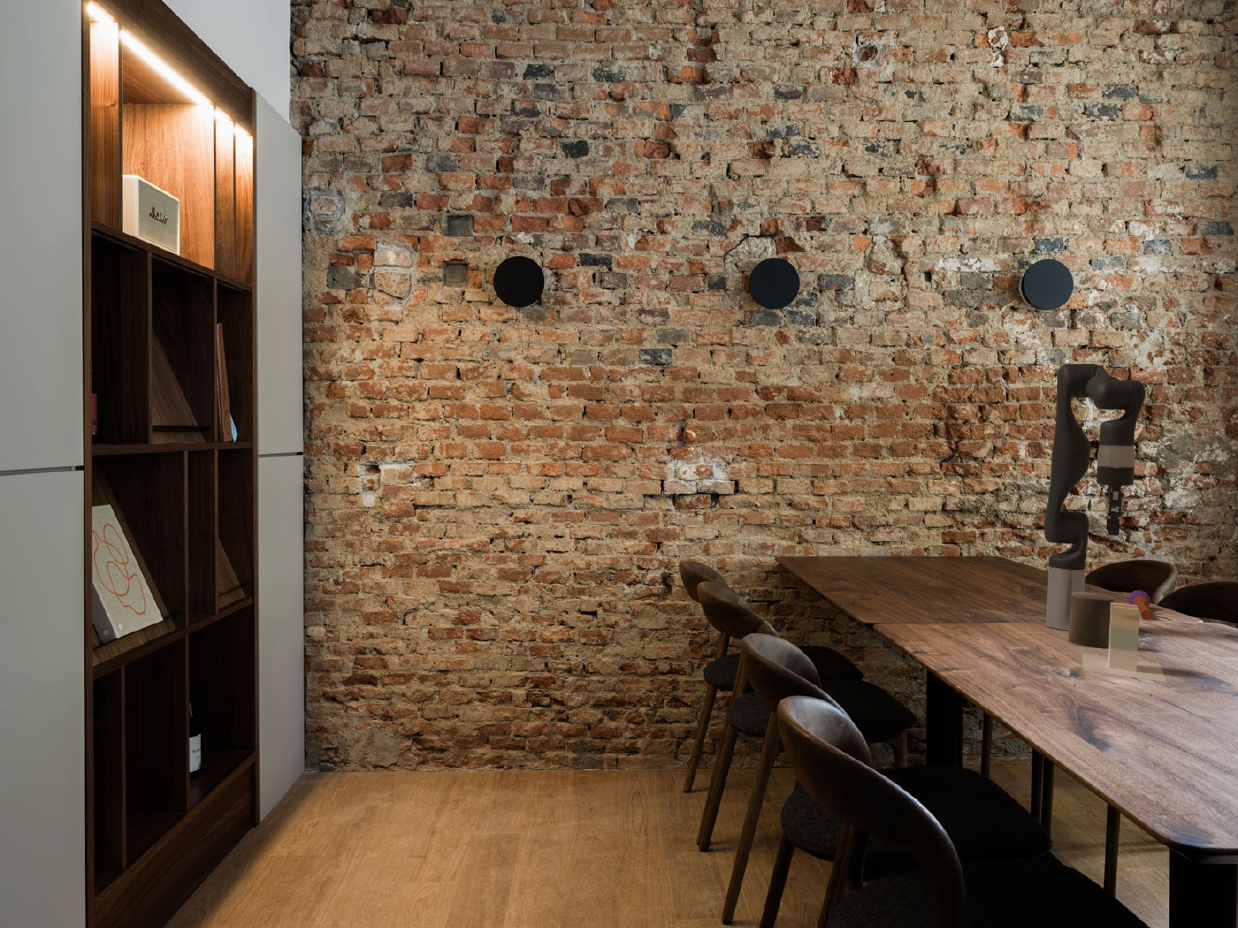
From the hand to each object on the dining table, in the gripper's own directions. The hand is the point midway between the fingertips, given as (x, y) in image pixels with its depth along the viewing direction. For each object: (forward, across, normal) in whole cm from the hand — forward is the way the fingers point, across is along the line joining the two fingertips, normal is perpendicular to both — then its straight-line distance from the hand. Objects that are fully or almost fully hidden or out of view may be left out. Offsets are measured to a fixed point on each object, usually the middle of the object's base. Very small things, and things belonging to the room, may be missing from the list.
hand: (1112, 533), depth 192 cm
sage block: (+26, +3, +3) cm, 26 cm away
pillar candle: (+32, -18, -3) cm, 37 cm away
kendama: (+32, -73, +12) cm, 81 cm away
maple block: (+21, +3, +3) cm, 22 cm away
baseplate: (+32, +3, +3) cm, 32 cm away
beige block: (+31, +3, +3) cm, 31 cm away
